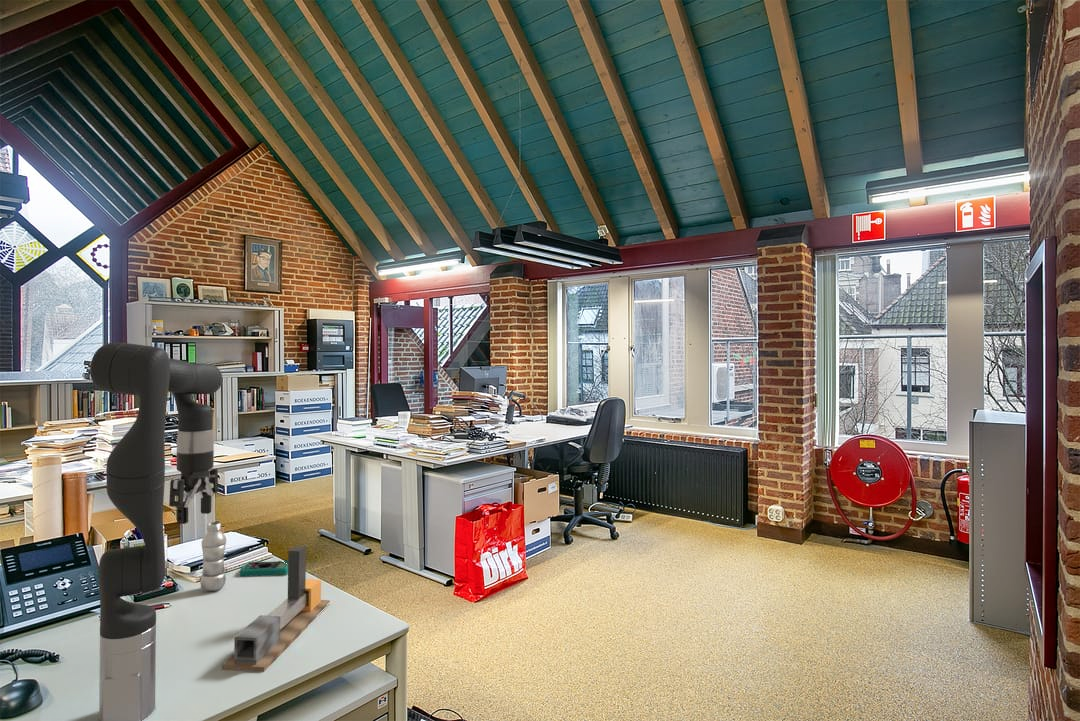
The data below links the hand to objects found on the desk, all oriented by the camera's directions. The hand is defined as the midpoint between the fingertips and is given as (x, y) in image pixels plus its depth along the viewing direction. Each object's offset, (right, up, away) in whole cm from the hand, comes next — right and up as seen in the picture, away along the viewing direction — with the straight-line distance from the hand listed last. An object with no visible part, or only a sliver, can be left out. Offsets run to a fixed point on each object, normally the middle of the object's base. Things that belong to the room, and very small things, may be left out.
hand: (194, 518), depth 139 cm
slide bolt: (+15, -30, +17) cm, 38 cm away
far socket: (+15, -32, +27) cm, 45 cm away
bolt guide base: (+14, -33, +14) cm, 39 cm away
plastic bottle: (-17, -32, +39) cm, 54 cm away
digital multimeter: (-8, -33, +54) cm, 64 cm away
